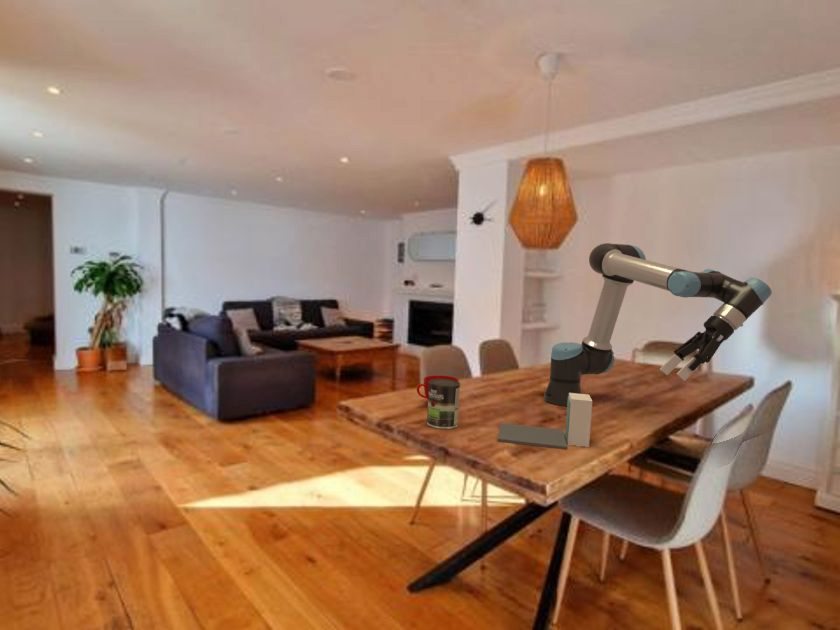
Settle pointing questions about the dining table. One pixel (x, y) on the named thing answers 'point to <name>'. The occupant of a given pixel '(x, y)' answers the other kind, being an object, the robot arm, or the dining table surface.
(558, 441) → the charcoal mat
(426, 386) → the ceramic cup
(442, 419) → the coffee can
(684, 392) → the dining table surface
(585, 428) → the cream block
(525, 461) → the dining table surface
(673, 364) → the robot arm
